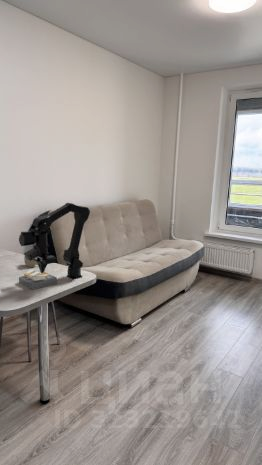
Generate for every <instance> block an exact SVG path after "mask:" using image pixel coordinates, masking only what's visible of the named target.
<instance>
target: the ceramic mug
mask: <svg viewBox="0 0 262 465" xmlns="http://www.w3.org/2000/svg"><path fill="white" fill-rule="evenodd" d="M23 260H24V264H25V266H26V267H29V268H33V267H35V266H36V265H37V266H38V264H37V262H36V261H34V260H31V261H29V260H27V259H26V257H25V255H24V256H23Z"/></svg>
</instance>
